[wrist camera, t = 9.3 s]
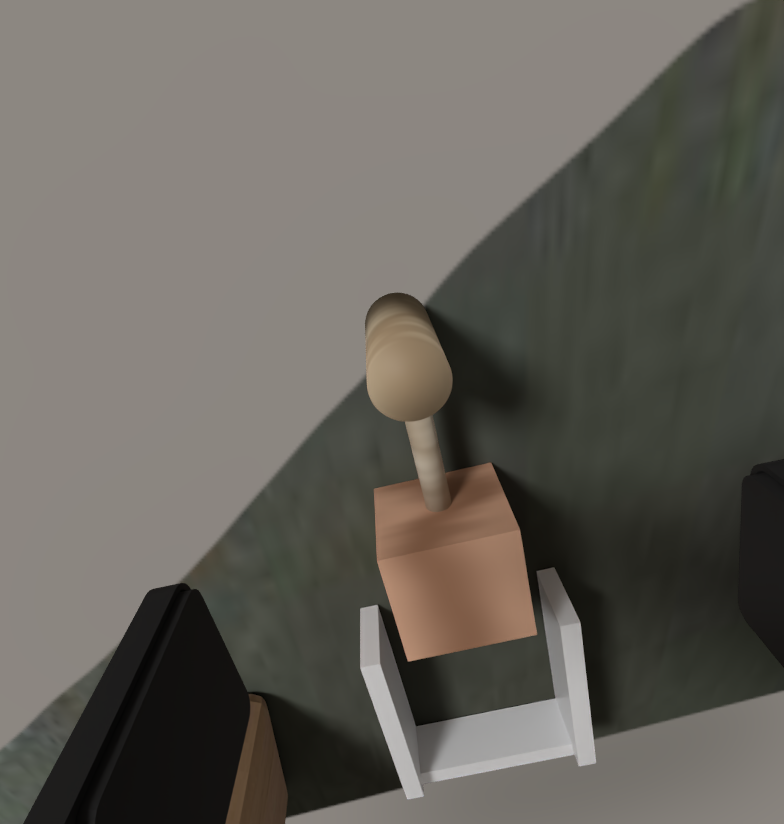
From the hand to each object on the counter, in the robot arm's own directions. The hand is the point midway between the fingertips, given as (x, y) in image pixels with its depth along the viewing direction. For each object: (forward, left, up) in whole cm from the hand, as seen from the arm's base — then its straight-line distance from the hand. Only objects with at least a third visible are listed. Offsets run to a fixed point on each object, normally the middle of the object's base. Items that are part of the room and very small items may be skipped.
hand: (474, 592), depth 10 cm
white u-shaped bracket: (0, +22, -16) cm, 27 cm away
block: (0, +6, -16) cm, 18 cm away
